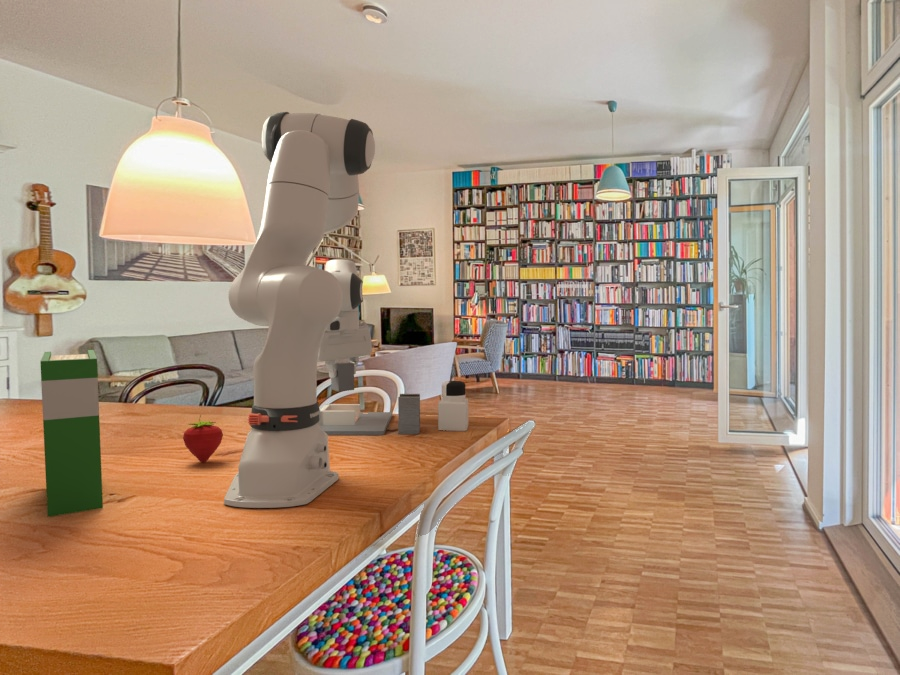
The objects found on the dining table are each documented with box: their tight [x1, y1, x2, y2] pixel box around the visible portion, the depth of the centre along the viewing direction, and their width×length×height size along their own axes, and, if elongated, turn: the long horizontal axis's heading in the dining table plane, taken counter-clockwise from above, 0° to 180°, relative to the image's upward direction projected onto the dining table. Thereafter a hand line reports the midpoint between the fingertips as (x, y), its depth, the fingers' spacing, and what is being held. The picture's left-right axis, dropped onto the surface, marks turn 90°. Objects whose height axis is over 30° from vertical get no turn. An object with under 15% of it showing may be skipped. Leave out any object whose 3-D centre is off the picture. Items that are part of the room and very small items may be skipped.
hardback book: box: [39, 349, 104, 517], centre depth 103 cm, size 18×7×24 cm, turn 31°
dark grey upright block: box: [397, 393, 421, 435], centre depth 153 cm, size 6×5×9 cm
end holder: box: [318, 403, 393, 436], centre depth 161 cm, size 24×24×4 cm
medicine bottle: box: [437, 380, 469, 432], centre depth 157 cm, size 7×7×12 cm
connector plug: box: [330, 358, 355, 393], centre depth 160 cm, size 4×4×9 cm
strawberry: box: [182, 414, 224, 463], centre depth 125 cm, size 6×8×10 cm
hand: (342, 375), depth 160 cm, fingers closed on connector plug, 5 cm apart
